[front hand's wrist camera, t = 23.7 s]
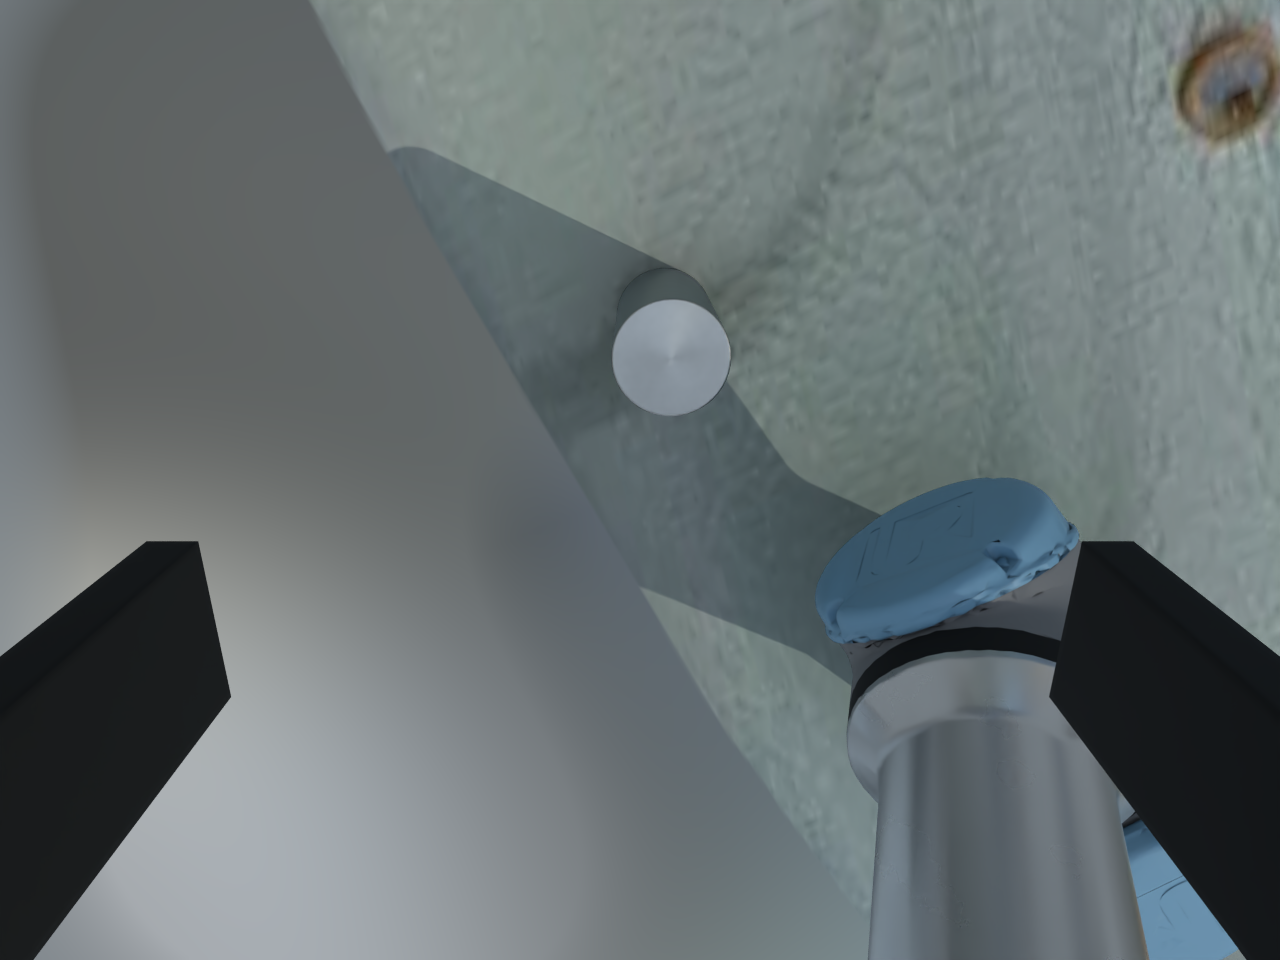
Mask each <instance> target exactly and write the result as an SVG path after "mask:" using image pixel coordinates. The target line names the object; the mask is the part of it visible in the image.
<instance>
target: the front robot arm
mask: <svg viewBox="0 0 1280 960" xmlns="http://www.w3.org/2000/svg"><path fill="white" fill-rule="evenodd" d="M230 698H231V694H230V689H229V685H228V680H227V675H226V671H225V666H224V661H223V656H222V652H221V647H220V642H219V637H218V633H217V628H216V623H215V619H214V614H213V609H212V604H211V600H210V595H209V590H208V586H207V581H206V576H205V571H204V567H203V562H202V557H201V553H200V548H199V543H198V541H147V542H145V543H144V544H143V545H141V546H140V547H139V548H138V549H136V550H135V551H134V552H133V553H131V554H130V555H129V556H127V557H126V558H125V559H124V560H122V561H121V562H120V563H119V564H117V565H116V566H115V567H113V568H112V569H111V570H110V571H108V572H107V573H106V574H105V575H103V576H102V577H101V578H99V579H98V580H97V581H96V582H94V583H93V584H92V585H91V586H89V587H88V588H87V589H86V590H84V591H83V592H82V593H80V594H79V595H78V596H77V597H75V598H74V599H73V600H72V601H70V602H69V603H68V604H66V605H65V606H64V607H63V608H61V609H60V610H59V611H57V612H56V613H55V614H54V615H52V616H51V617H50V618H49V619H47V620H46V621H45V622H44V623H42V624H41V625H40V626H38V627H37V628H36V629H35V630H33V631H32V632H31V633H30V634H28V635H27V636H26V637H24V638H23V639H22V640H21V641H19V642H18V643H17V644H16V645H14V646H13V647H12V648H11V649H9V650H8V651H7V652H5V653H4V654H3V655H2V656H0V960H34V958H35V957H36V956H37V954H38V953H39V952H40V950H41V949H42V948H43V946H44V945H45V944H46V942H47V941H48V940H49V938H50V937H51V936H52V934H53V933H54V932H55V930H56V929H57V928H58V926H59V925H60V924H61V922H62V921H63V920H64V918H65V917H66V916H67V914H68V913H69V912H70V910H71V909H72V908H73V906H74V905H75V904H76V902H77V901H78V900H79V898H80V897H81V896H82V894H83V893H84V892H85V890H86V889H87V888H88V886H89V885H90V884H91V882H92V881H93V880H94V878H95V877H96V876H97V874H98V873H99V872H100V870H101V869H102V868H103V867H104V865H105V864H106V863H107V861H108V860H109V858H110V857H111V856H112V855H113V853H114V852H115V851H116V849H117V848H118V847H119V845H120V844H121V843H122V841H123V840H124V839H125V837H126V836H127V835H128V833H129V832H130V831H131V829H132V828H133V827H134V825H135V824H136V823H137V821H138V820H139V819H140V817H141V816H142V815H143V813H144V812H145V811H146V809H147V808H148V807H149V805H150V804H151V803H152V801H153V800H154V799H155V797H156V796H157V795H158V793H159V792H160V791H161V789H162V788H163V787H164V785H165V784H166V783H167V781H168V780H169V779H170V777H171V776H172V775H173V773H174V772H175V771H176V769H177V768H178V767H179V765H180V764H181V763H182V761H183V760H184V759H185V757H186V756H187V755H188V753H189V752H190V751H191V749H192V748H193V747H194V745H195V744H196V743H197V742H198V740H199V739H200V738H201V736H202V735H203V734H204V732H205V731H206V730H207V728H208V727H209V725H210V724H211V723H212V722H213V720H214V719H215V718H216V716H217V715H218V714H219V712H220V711H221V710H222V708H223V707H224V706H225V704H226V703H227V702H228V700H229V699H230ZM1049 698H1050V699H1051V700H1052V702H1053V703H1054V704H1055V706H1056V707H1057V708H1058V710H1059V711H1060V712H1061V714H1062V715H1063V716H1064V718H1065V719H1066V720H1067V722H1068V723H1069V724H1070V726H1071V727H1072V728H1073V730H1074V731H1075V732H1076V734H1077V735H1078V736H1079V738H1080V739H1081V740H1082V742H1083V743H1084V744H1085V746H1086V747H1087V748H1088V750H1089V751H1090V752H1091V754H1092V755H1093V756H1094V757H1095V759H1096V760H1097V761H1098V763H1099V764H1100V765H1101V767H1102V768H1103V769H1104V771H1105V772H1106V773H1107V775H1108V776H1109V777H1110V779H1111V780H1112V781H1113V783H1114V784H1115V785H1116V787H1117V788H1118V789H1119V791H1120V792H1121V793H1122V795H1123V796H1124V797H1125V799H1126V800H1127V801H1128V803H1129V804H1130V805H1131V807H1132V808H1133V809H1134V811H1135V812H1136V813H1137V815H1138V816H1139V817H1140V819H1141V820H1142V821H1143V823H1144V824H1145V825H1146V827H1147V828H1148V829H1149V831H1150V832H1151V833H1152V835H1153V836H1154V837H1155V839H1156V840H1157V841H1158V843H1159V844H1160V845H1161V847H1162V848H1163V849H1164V851H1165V852H1166V853H1167V855H1168V856H1169V857H1170V859H1171V860H1172V861H1173V863H1174V864H1175V865H1176V867H1177V868H1178V869H1179V871H1180V872H1181V873H1182V875H1183V876H1184V877H1185V878H1186V880H1187V881H1188V882H1189V884H1190V885H1191V886H1192V888H1193V889H1194V890H1195V892H1196V893H1197V894H1198V896H1199V897H1200V898H1201V900H1202V901H1203V902H1204V904H1205V905H1206V906H1207V908H1208V909H1209V910H1210V912H1211V913H1212V914H1213V916H1214V917H1215V918H1216V920H1217V921H1218V922H1219V924H1220V925H1221V926H1222V928H1223V929H1224V930H1225V932H1226V933H1227V934H1228V936H1229V937H1230V938H1231V940H1232V941H1233V942H1234V944H1235V945H1236V946H1237V948H1238V949H1239V950H1240V952H1241V953H1242V954H1243V956H1244V957H1245V958H1246V960H1280V656H1278V655H1277V654H1276V653H1275V652H1273V651H1272V650H1271V649H1270V648H1268V647H1267V646H1266V645H1264V644H1263V643H1262V642H1261V641H1259V640H1258V639H1257V638H1256V637H1254V636H1253V635H1252V634H1250V633H1249V632H1248V631H1247V630H1245V629H1244V628H1243V627H1242V626H1240V625H1239V624H1238V623H1236V622H1235V621H1234V620H1233V619H1231V618H1230V617H1229V616H1228V615H1226V614H1225V613H1224V612H1223V611H1221V610H1220V609H1219V608H1217V607H1216V606H1215V605H1214V604H1212V603H1211V602H1210V601H1209V600H1207V599H1206V598H1205V597H1203V596H1202V595H1201V594H1200V593H1198V592H1197V591H1196V590H1195V589H1193V588H1192V587H1191V586H1189V585H1188V584H1187V583H1186V582H1184V581H1183V580H1182V579H1181V578H1179V577H1178V576H1177V575H1175V574H1174V573H1173V572H1172V571H1170V570H1169V569H1168V568H1167V567H1165V566H1164V565H1163V564H1162V563H1160V562H1159V561H1158V560H1156V559H1155V558H1154V557H1153V556H1151V555H1150V554H1149V553H1148V552H1146V551H1145V550H1144V549H1142V548H1141V547H1140V546H1139V545H1137V544H1136V543H1135V542H1134V541H1082V543H1081V548H1080V553H1079V557H1078V562H1077V567H1076V571H1075V576H1074V581H1073V586H1072V590H1071V595H1070V600H1069V604H1068V609H1067V614H1066V619H1065V623H1064V628H1063V633H1062V637H1061V642H1060V647H1059V652H1058V656H1057V661H1056V666H1055V670H1054V675H1053V680H1052V685H1051V689H1050V694H1049Z"/></svg>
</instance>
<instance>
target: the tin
mask: <svg viewBox="0 0 1280 960" xmlns="http://www.w3.org/2000/svg"><path fill="white" fill-rule="evenodd" d="M611 362H612V369H613V373H614V377H615V379H616V382H617V384H618V386H619V388H620V389H621V391H622V392H623V393H624V395H625V396H626V397H627V398H628V399H629V400H630V401H631V402H632V403H634V404H635V405H636V406H638V407H639V408H641V409H643V410H645V411H647V412H649V413H653V414H656V415H661V416H680V415H685V414H688V413H691V412H694V411H696V410H698V409H700V408H702V407H703V406H705V405H706V404H708V403H709V402H710V401H711V400H712V399H714V397H715V396H716V395H717V394H718V393H719V392H720V390H721V389H722V387H723V385H724V383H725V382H726V379H727V377H728V374H729V370H730V366H731V347H730V342H729V339H728V336H727V333H726V331H725V329H724V327H723V325H722V323H721V321H720V319H719V317H718V315H717V314H716V312H715V310H714V308H713V306H712V304H711V302H710V300H709V298H708V296H707V294H706V292H705V291H704V289H703V288H702V286H701V285H700V284H699V283H698V282H697V281H696V280H695V279H694V278H693V277H691V276H690V275H688V274H686V273H684V272H682V271H679V270H676V269H670V268H660V269H654V270H650V271H648V272H645V273H643V274H641V275H639V276H638V277H637V278H635V279H634V280H633V281H632V282H631V283H630V284H629V285H628V286H627V287H626V289H625V290H624V292H623V294H622V296H621V298H620V301H619V304H618V309H617V316H616V323H615V331H614V338H613V345H612V354H611Z"/></svg>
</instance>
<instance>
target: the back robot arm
mask: <svg viewBox="0 0 1280 960" xmlns="http://www.w3.org/2000/svg"><path fill="white" fill-rule="evenodd" d="M1078 538H1079V533H1078V531H1077V528H1076V527H1075V525H1074V524H1071V523H1070V522H1067V520H1066V519H1065V518H1064V516H1063V515H1062V514H1061V512H1060V511H1059V510H1058V508H1057V507H1056V505H1055V504H1054V503H1053V501H1052V500H1051V499H1050V498H1049V496H1048V495H1047V494H1046V493H1044V492H1043V491H1042V490H1041V489H1039V488H1038V487H1036V486H1034V485H1032V484H1030V483H1028V482H1025V481H1021V480H1017V479H1013V478H996V479H991V478H978V479H972V480H966V481H961V482H957V483H953V484H950V485H947V486H944V487H941V488H938V489H935V490H932V491H930V492H927V493H924V494H922V495H920V496H917V497H915V498H913V499H911V500H909V501H907V502H905V503H903V504H901V505H899V506H897V507H895V508H894V509H892V510H890V511H888V512H887V513H885V514H883V515H882V516H880V517H879V518H877V519H876V520H874V521H873V522H871V523H870V524H869V525H867V526H866V527H865V528H864V529H863V530H861V531H860V532H858V533H857V534H856V535H855V536H853V537H852V538H851V539H850V540H849V541H848V542H847V543H846V544H845V545H844V546H843V547H842V548H841V549H840V550H839V551H838V552H837V553H836V554H835V555H834V557H833V558H832V559H831V560H830V562H829V563H828V564H827V566H826V567H825V569H824V571H823V573H822V575H821V577H820V579H819V581H818V584H817V588H816V593H815V603H816V608H817V611H818V613H819V615H820V617H821V618H822V620H823V622H824V623H825V630H826V634H827V635H828V636H829V638H830V639H831V640H832V641H834V642H837V643H839V644H840V645H841V647H842V648H843V649H844V651H845V652H846V654H847V656H848V658H849V660H850V663H851V666H852V672H853V679H852V688H851V698H850V707H849V716H848V726H847V747H848V756H849V760H850V764H851V767H852V769H853V771H854V773H855V775H856V777H857V779H858V780H859V781H860V783H861V784H862V786H863V787H864V789H865V790H866V791H867V792H868V793H869V794H870V795H871V796H872V798H873V799H874V800H875V801H876V802H878V818H877V833H876V848H875V862H874V877H873V892H872V907H871V922H870V937H869V951H868V960H1221V959H1223V958H1225V957H1227V956H1228V955H1230V954H1232V953H1233V952H1235V951H1236V950H1238V948H1237V946H1236V945H1235V944H1234V942H1233V941H1232V940H1231V938H1230V937H1229V936H1228V934H1227V933H1226V932H1225V930H1224V929H1223V928H1222V926H1221V925H1220V924H1219V922H1218V921H1217V920H1216V918H1215V917H1214V916H1213V914H1212V913H1211V912H1210V910H1209V909H1208V908H1207V906H1206V905H1205V904H1204V902H1203V901H1202V900H1201V898H1200V897H1199V896H1198V894H1197V893H1196V892H1195V890H1194V889H1193V888H1192V886H1191V885H1190V884H1189V882H1188V881H1187V880H1186V878H1185V877H1184V876H1183V875H1182V873H1181V872H1180V871H1179V869H1178V868H1177V867H1176V865H1175V864H1174V863H1173V861H1172V860H1171V859H1170V857H1169V856H1168V855H1167V853H1166V852H1165V851H1164V849H1163V848H1162V847H1161V845H1160V844H1159V843H1158V841H1157V840H1156V839H1155V837H1154V836H1153V835H1152V833H1151V832H1150V831H1149V829H1148V828H1147V827H1146V825H1145V824H1144V823H1143V821H1142V820H1141V819H1140V817H1139V816H1138V815H1137V813H1136V812H1135V811H1134V809H1133V808H1132V807H1131V805H1130V804H1129V803H1128V801H1127V800H1126V799H1125V797H1124V796H1123V795H1122V793H1121V792H1120V791H1119V789H1118V788H1117V787H1116V785H1115V784H1114V783H1113V781H1112V780H1111V779H1110V777H1109V776H1108V775H1107V773H1106V772H1105V771H1104V769H1103V768H1102V767H1101V765H1100V764H1099V763H1098V761H1097V760H1096V759H1095V757H1094V756H1093V755H1092V754H1091V752H1090V751H1089V750H1088V748H1087V747H1086V746H1085V744H1084V743H1083V742H1082V740H1081V739H1080V738H1079V736H1078V735H1077V734H1076V732H1075V731H1074V730H1073V728H1072V727H1071V726H1070V724H1069V723H1068V722H1067V720H1066V719H1065V718H1064V716H1063V715H1062V714H1061V712H1060V711H1059V710H1058V708H1057V707H1056V706H1055V704H1054V703H1053V702H1052V700H1051V699H1050V698H1049V694H1050V689H1051V685H1052V680H1053V675H1054V670H1055V666H1056V661H1057V656H1058V652H1059V647H1060V642H1061V637H1062V633H1063V628H1064V623H1065V619H1066V614H1067V609H1068V604H1069V600H1070V595H1071V590H1072V586H1073V581H1074V576H1075V571H1076V567H1077V562H1078V557H1079V553H1080V548H1081V542H1080V541H1079V539H1078Z"/></svg>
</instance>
